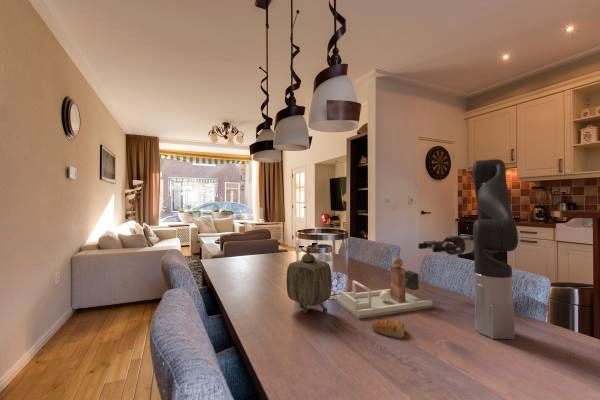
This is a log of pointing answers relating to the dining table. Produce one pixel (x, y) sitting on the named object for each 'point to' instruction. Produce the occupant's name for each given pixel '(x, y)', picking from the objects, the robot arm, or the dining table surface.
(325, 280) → the tabletop clock
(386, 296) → the ball
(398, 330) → the pastry
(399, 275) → the striker
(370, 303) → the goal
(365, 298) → the pitch
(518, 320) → the dining table surface
